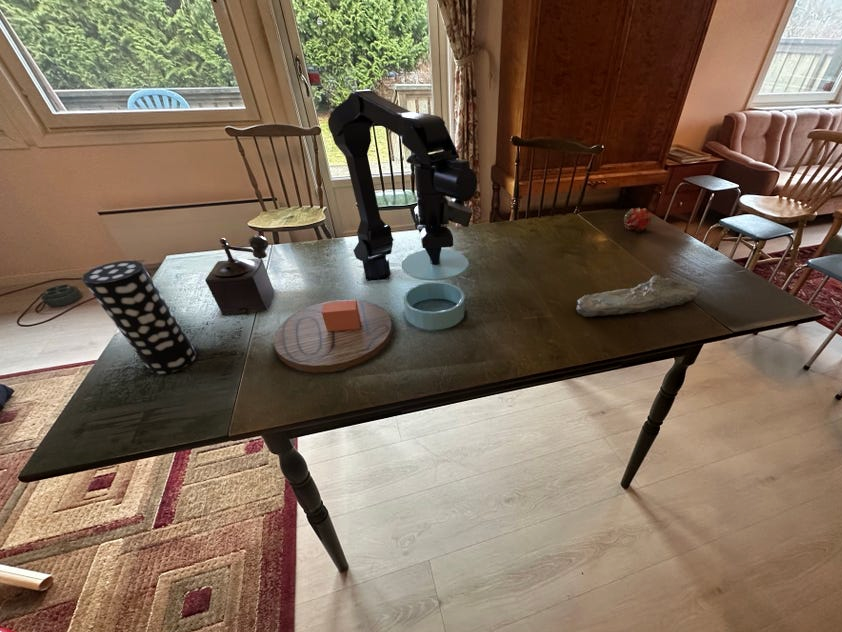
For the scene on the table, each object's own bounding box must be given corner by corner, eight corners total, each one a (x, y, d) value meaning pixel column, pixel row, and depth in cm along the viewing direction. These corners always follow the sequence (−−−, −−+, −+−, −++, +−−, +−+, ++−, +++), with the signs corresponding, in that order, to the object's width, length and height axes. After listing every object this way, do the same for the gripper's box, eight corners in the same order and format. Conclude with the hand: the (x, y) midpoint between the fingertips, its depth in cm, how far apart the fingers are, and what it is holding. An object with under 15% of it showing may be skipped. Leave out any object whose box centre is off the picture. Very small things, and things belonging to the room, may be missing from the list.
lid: (404, 286, 80) (401, 263, 76) (400, 255, 91) (397, 235, 88) (474, 279, 82) (474, 258, 79) (462, 250, 94) (462, 230, 90)
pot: (407, 334, 85) (405, 316, 82) (404, 301, 96) (402, 284, 93) (469, 328, 88) (469, 310, 85) (459, 296, 98) (459, 279, 95)
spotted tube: (163, 348, 80) (103, 261, 67) (204, 347, 80) (153, 260, 67) (139, 374, 73) (68, 283, 60) (184, 373, 74) (123, 282, 61)
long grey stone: (566, 306, 98) (584, 329, 91) (569, 289, 94) (588, 312, 88) (679, 284, 105) (704, 303, 98) (686, 267, 101) (712, 286, 95)
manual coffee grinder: (220, 317, 89) (182, 244, 77) (232, 294, 97) (199, 225, 85) (289, 310, 92) (263, 239, 80) (295, 288, 100) (272, 221, 88)
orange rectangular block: (327, 331, 82) (321, 312, 79) (329, 321, 85) (323, 302, 82) (360, 328, 83) (355, 309, 80) (360, 318, 86) (356, 300, 83)
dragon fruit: (617, 235, 137) (641, 235, 142) (635, 228, 129) (660, 228, 134) (616, 211, 137) (640, 212, 141) (634, 203, 129) (659, 204, 134)
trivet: (376, 297, 97) (375, 291, 96) (407, 352, 80) (406, 345, 79) (271, 320, 88) (269, 313, 87) (282, 387, 71) (278, 380, 70)
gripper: (478, 202, 70) (477, 277, 80) (461, 176, 84) (462, 243, 94) (419, 205, 68) (425, 282, 78) (411, 178, 82) (417, 246, 92)
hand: (434, 261), depth 86 cm, fingers closed on lid, 2 cm apart
